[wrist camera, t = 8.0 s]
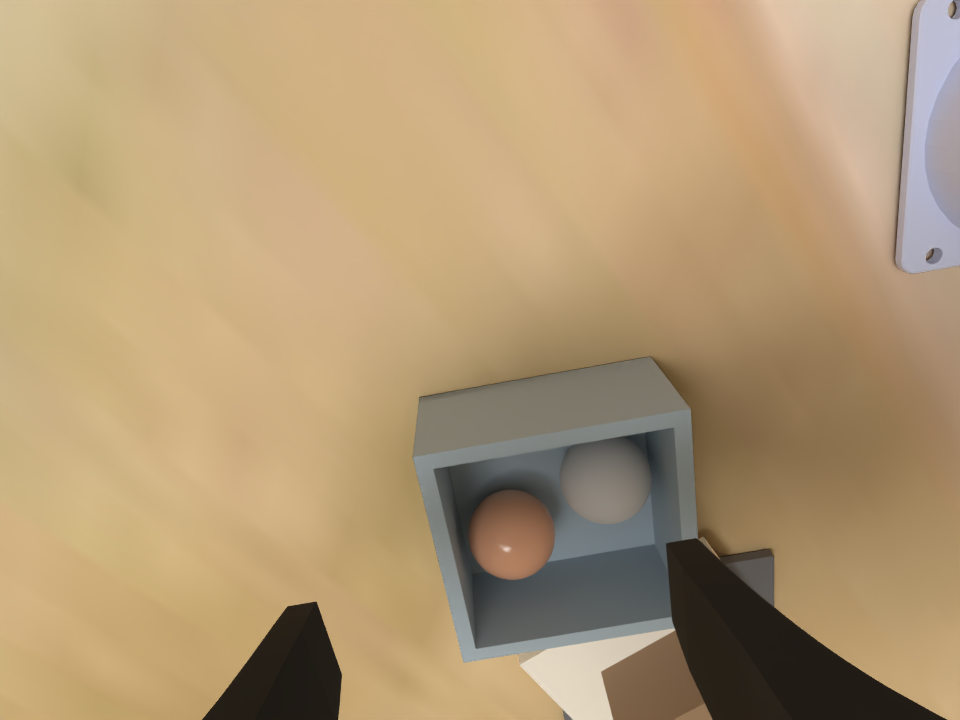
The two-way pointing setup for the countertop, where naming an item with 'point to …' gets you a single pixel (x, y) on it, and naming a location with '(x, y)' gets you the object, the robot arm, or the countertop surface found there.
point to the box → (557, 504)
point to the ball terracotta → (511, 534)
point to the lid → (620, 677)
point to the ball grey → (606, 480)
